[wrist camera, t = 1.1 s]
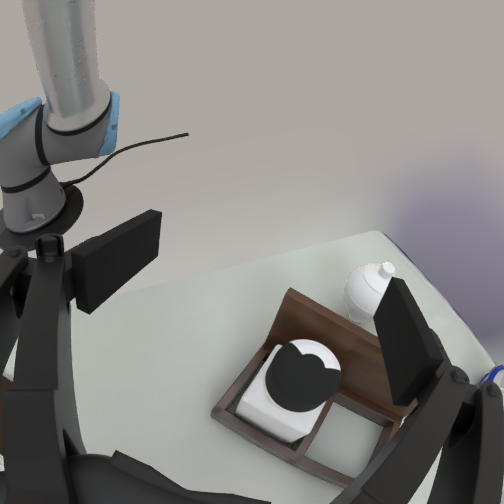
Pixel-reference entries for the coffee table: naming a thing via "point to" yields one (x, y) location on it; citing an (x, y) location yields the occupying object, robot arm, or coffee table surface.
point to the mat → (3, 385)
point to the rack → (348, 393)
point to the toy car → (496, 378)
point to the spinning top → (366, 290)
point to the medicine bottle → (291, 390)
